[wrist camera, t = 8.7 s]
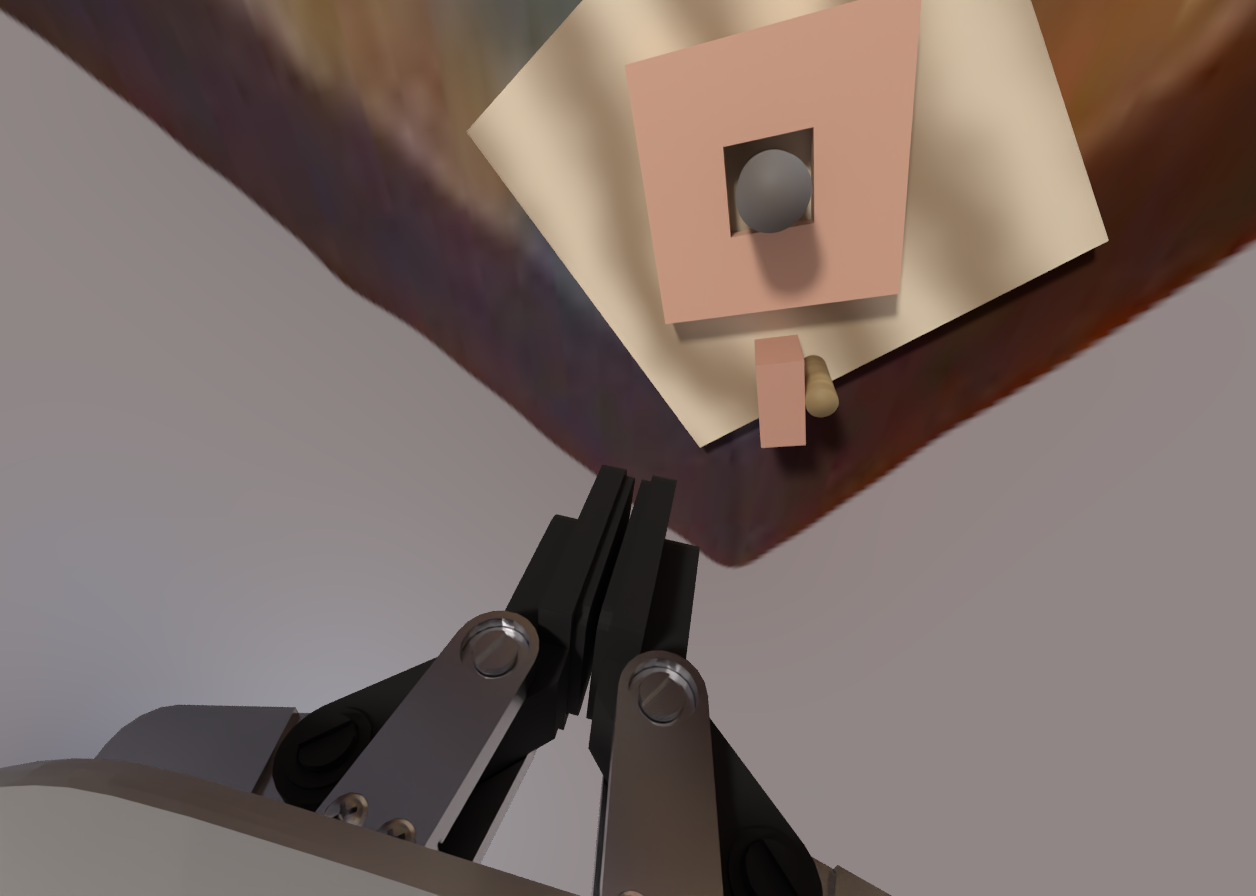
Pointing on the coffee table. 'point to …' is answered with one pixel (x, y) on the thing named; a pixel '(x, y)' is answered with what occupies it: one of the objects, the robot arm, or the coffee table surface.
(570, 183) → the post board
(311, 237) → the coffee table surface
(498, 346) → the coffee table surface
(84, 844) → the robot arm
